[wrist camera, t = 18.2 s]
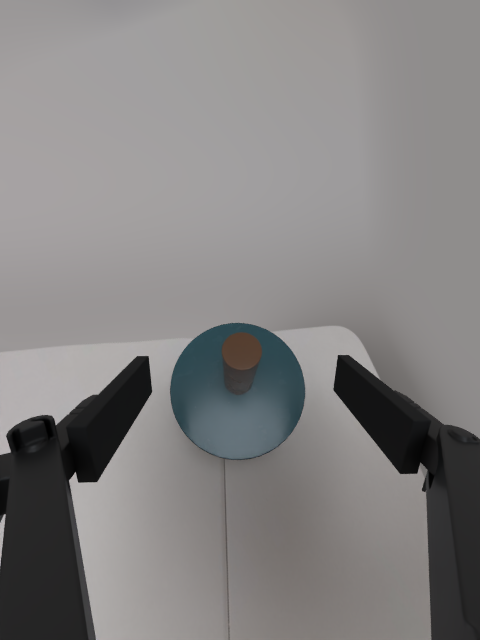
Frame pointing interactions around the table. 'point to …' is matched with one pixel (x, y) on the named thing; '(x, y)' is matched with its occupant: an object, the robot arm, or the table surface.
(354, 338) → the table surface
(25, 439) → the robot arm
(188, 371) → the lid
